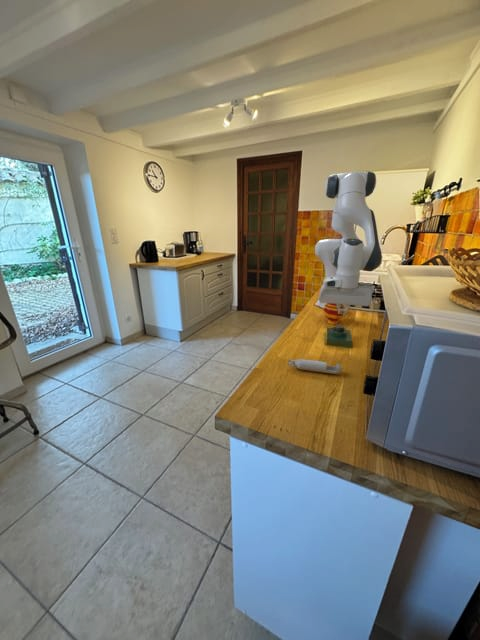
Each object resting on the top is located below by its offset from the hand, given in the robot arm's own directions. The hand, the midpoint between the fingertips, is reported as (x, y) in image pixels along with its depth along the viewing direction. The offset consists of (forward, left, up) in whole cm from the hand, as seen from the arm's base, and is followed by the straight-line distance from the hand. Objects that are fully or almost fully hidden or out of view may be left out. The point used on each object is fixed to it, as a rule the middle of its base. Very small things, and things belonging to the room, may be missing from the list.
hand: (341, 313), depth 107 cm
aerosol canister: (+37, -9, -10) cm, 39 cm away
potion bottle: (-21, -2, -13) cm, 24 cm away
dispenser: (0, 0, -12) cm, 12 cm away
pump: (0, 0, -8) cm, 8 cm away
